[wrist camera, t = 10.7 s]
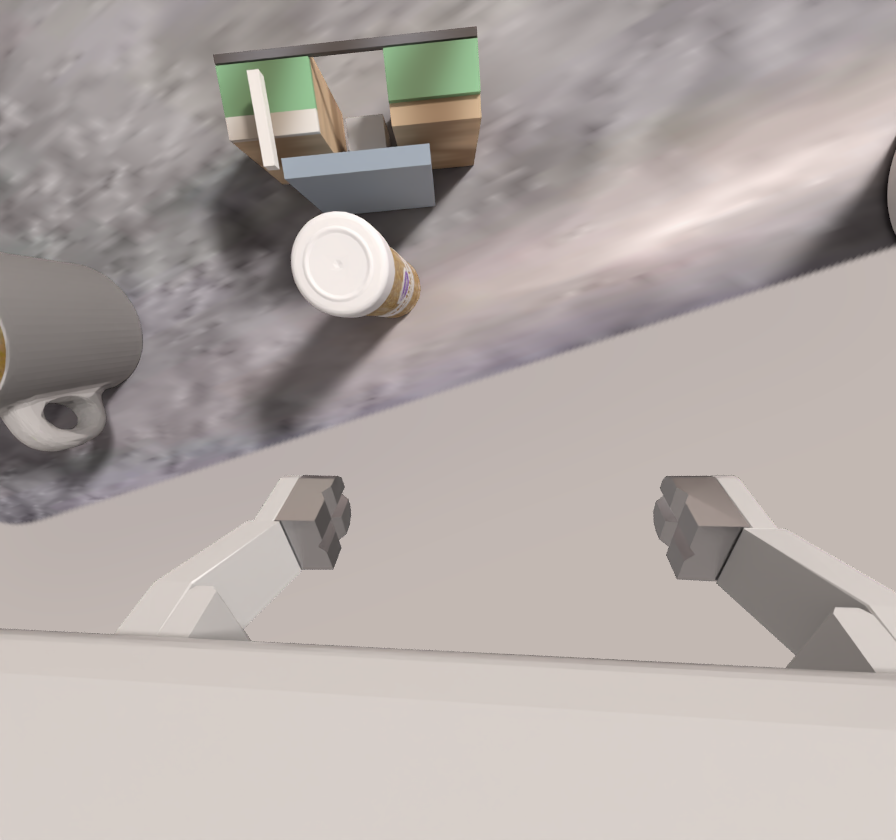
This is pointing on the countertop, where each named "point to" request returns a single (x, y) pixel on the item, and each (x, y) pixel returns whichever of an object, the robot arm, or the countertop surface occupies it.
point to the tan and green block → (319, 118)
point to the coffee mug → (61, 347)
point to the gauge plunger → (351, 165)
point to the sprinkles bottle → (351, 269)
